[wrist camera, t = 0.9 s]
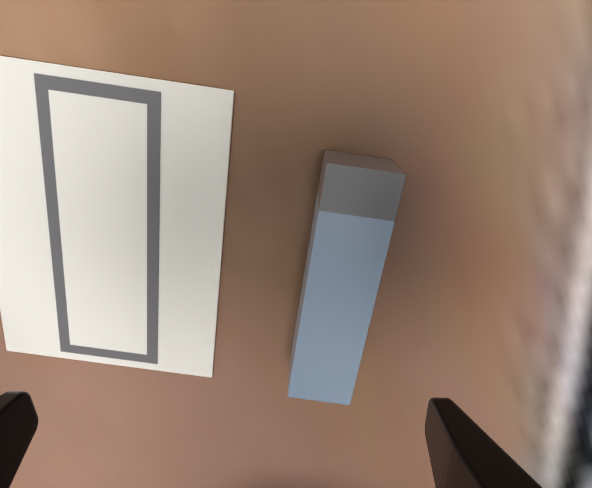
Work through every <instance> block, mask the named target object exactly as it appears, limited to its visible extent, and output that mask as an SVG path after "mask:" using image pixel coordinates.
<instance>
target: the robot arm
mask: <svg viewBox="0 0 592 488" xmlns="http://www.w3.org/2000/svg"><path fill="white" fill-rule="evenodd" d="M37 426H38V416H37V413H36V410H35V407H34V405H33V402H32V399H31V396H30V395H29V394H28V393H27V392H25V391H9V392H6V393H4V394H2V395H0V488H9V487H10V485H11V483H12V481H13V478H14V476H15V474H16V472H17V470H18V468H19V466H20V463H21V461H22V459H23V457H24V455H25V453H26V451H27V449H28V446H29V444H30V442H31V440H32V438H33V436H34V434H35V432H36V429H37ZM425 436H426V441H427V446H428V451H429V456H430V461H431V466H432V471H433V476H434V481H435V487H436V488H542V487H541V486H540V485H539V484H538V483H537V482H536V481H535V480H534V479H533V478H532V477H531V476H530V475H528V474H527V473H526V472H525V471H524V470H523V469H522V468H521V467H520V466H519V465H518V464H517V463H516V462H515V461H514V460H513V459H512V458H511V457H510V456H509V455H508V454H507V453H506V452H505V451H504V450H503V449H502V448H501V447H500V446H499V445H497V444H496V443H495V442H494V441H493V440H492V439H491V438H490V437H489V436H488V435H487V434H486V433H485V432H484V431H483V430H482V429H481V428H480V427H479V426H478V425H477V424H476V423H475V422H474V421H473V420H472V419H471V418H470V417H469V416H468V415H466V414H465V413H464V412H463V411H462V410H461V409H460V408H459V407H458V406H457V405H456V404H455V403H454V402H453V401H452V400H451V399H449V398H431V399H430V400H429V403H428V409H427V415H426V422H425Z"/></svg>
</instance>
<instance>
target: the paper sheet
mask: <svg viewBox="0 0 592 488" xmlns="http://www.w3.org/2000/svg"><path fill="white" fill-rule="evenodd" d="M233 103H234V91H233V90H227V89H220V88H213V87H207V86H200V85H193V84H187V83H180V82H173V81H167V80H160V79H153V78H146V77H140V76H133V75H126V74H120V73H113V72H106V71H100V70H93V69H86V68H80V67H73V66H66V65H59V64H53V63H46V62H39V61H33V60H26V59H19V58H13V57H6V56H0V311H1V317H2V324H3V330H4V336H5V343H6V349H7V351H14V352H22V353H29V354H37V355H45V356H52V357H60V358H67V359H75V360H83V361H90V362H98V363H105V364H113V365H120V366H128V367H136V368H143V369H151V370H158V371H166V372H174V373H181V374H189V375H196V376H204V377H211V378H212V375H213V363H214V350H215V337H216V324H217V311H218V298H219V285H220V272H221V259H222V246H223V233H224V220H225V207H226V194H227V181H228V168H229V155H230V142H231V129H232V116H233Z"/></svg>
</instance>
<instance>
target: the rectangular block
mask: <svg viewBox="0 0 592 488" xmlns="http://www.w3.org/2000/svg"><path fill="white" fill-rule="evenodd" d="M405 178H406V174H405V173H404V172H403V171H402V170H401V169H400V168H399V167H398V166H397V165H396V164H395V162H394V161H393V160H391V159H385V158H378V157H371V156H364V155H357V154H350V153H344V152H337V151H330V150H324V155H323V161H322V168H321V174H320V180H319V186H318V192H317V198H316V204H315V210H314V216H313V222H312V229H311V235H310V241H309V247H308V253H307V259H306V265H305V271H304V277H303V283H302V289H301V296H300V302H299V308H298V314H297V320H296V326H295V332H294V338H293V344H292V350H291V356H290V369H289V383H288V397H293V398H300V399H308V400H315V401H323V402H330V403H338V404H345V405H350V402H351V398H352V394H353V390H354V386H355V381H356V377H357V373H358V369H359V365H360V361H361V357H362V353H363V349H364V345H365V341H366V337H367V333H368V329H369V324H370V320H371V316H372V312H373V308H374V304H375V300H376V296H377V292H378V288H379V284H380V280H381V276H382V271H383V267H384V263H385V259H386V255H387V251H388V247H389V243H390V239H391V235H392V231H393V227H394V223H395V219H396V214H397V210H398V206H399V202H400V198H401V194H402V190H403V186H404V182H405Z"/></svg>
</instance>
